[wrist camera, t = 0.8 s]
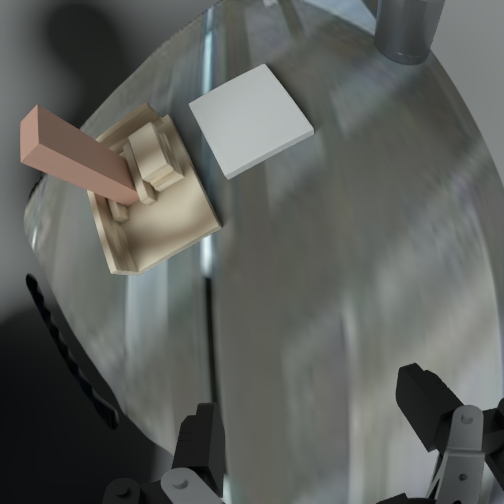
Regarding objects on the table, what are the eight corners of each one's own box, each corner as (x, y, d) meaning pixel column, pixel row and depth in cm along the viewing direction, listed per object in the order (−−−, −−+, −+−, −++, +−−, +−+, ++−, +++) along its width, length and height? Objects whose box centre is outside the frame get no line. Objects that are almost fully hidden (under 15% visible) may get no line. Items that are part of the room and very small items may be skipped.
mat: (192, 108, 43) (188, 104, 41) (266, 69, 41) (264, 63, 39) (228, 179, 40) (224, 176, 39) (314, 134, 38) (313, 129, 37)
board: (118, 174, 43) (20, 122, 23) (132, 163, 42) (37, 104, 23) (128, 206, 42) (21, 162, 22) (144, 195, 41) (38, 143, 22)
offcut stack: (144, 149, 42) (127, 137, 38) (165, 134, 41) (151, 120, 37) (160, 192, 40) (143, 182, 36) (184, 177, 40) (168, 165, 36)
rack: (104, 166, 45) (79, 153, 39) (172, 118, 43) (152, 97, 37) (139, 275, 42) (111, 273, 35) (222, 227, 39) (203, 217, 33)
